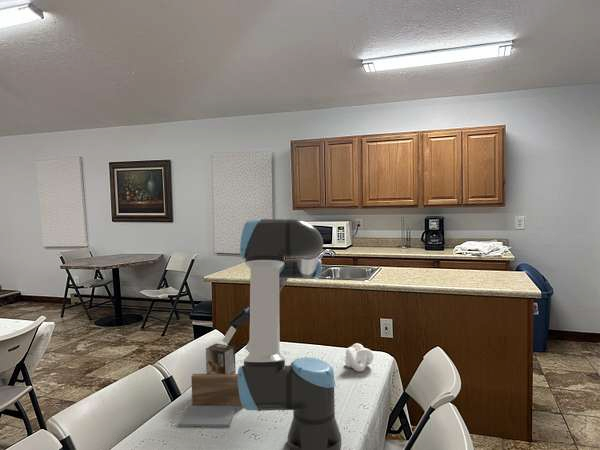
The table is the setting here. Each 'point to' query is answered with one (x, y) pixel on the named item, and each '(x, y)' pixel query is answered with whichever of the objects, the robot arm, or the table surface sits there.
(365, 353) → the white lobed ornament
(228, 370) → the coffee box
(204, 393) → the walnut screen
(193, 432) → the table surface
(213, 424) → the mat
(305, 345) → the table surface
